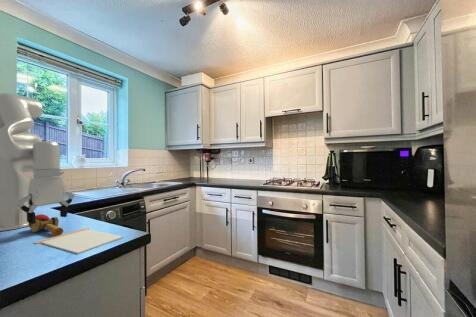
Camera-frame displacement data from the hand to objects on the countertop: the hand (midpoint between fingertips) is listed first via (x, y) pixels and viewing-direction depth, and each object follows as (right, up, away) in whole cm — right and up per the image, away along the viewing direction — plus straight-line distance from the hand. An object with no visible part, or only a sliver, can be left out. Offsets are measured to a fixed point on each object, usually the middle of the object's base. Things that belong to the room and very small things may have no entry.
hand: (48, 220), depth 80 cm
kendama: (-1, -5, 0) cm, 5 cm away
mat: (+20, -4, -9) cm, 22 cm away
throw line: (+9, -4, -5) cm, 11 cm away
